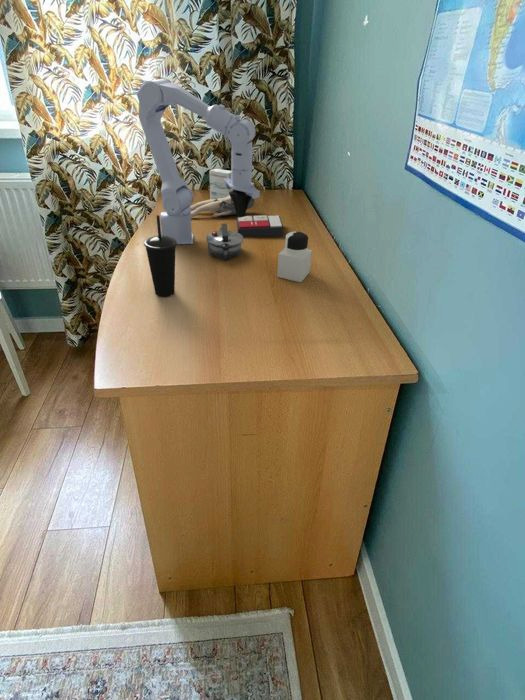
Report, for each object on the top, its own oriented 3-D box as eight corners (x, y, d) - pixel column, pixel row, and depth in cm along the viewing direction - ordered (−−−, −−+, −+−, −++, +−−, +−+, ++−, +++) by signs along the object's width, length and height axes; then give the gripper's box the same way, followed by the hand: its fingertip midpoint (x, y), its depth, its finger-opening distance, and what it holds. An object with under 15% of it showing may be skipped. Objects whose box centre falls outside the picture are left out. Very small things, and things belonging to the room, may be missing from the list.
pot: (208, 261, 133) (208, 249, 131) (207, 237, 147) (207, 227, 145) (242, 260, 134) (242, 249, 132) (238, 237, 148) (238, 227, 146)
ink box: (235, 202, 178) (235, 170, 171) (229, 205, 174) (229, 173, 167) (215, 198, 180) (215, 167, 174) (209, 202, 177) (208, 170, 170)
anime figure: (169, 199, 163) (250, 185, 167) (173, 219, 168) (252, 205, 172) (171, 208, 156) (256, 193, 160) (175, 228, 160) (258, 214, 164)
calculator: (236, 215, 156) (279, 213, 157) (237, 227, 159) (279, 225, 160) (237, 226, 147) (283, 225, 148) (238, 239, 150) (283, 237, 151)
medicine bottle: (309, 273, 129) (314, 232, 122) (300, 283, 124) (305, 241, 117) (286, 267, 132) (289, 227, 125) (276, 277, 126) (279, 235, 119)
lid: (244, 249, 131) (245, 240, 130) (206, 249, 130) (206, 240, 129) (241, 232, 142) (241, 223, 140) (206, 232, 141) (206, 223, 139)
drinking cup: (154, 302, 112) (146, 223, 100) (146, 288, 117) (136, 212, 106) (184, 296, 115) (179, 219, 103) (174, 283, 120) (168, 208, 109)
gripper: (269, 172, 124) (266, 221, 132) (237, 161, 133) (237, 207, 141) (248, 176, 121) (247, 225, 129) (217, 164, 130) (218, 211, 138)
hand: (240, 216), depth 135 cm, fingers closed
